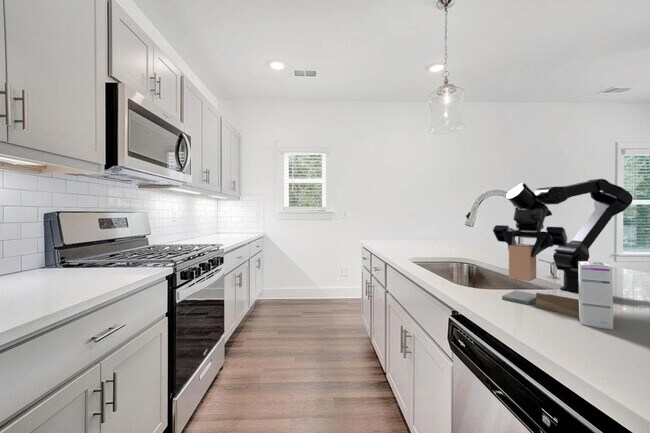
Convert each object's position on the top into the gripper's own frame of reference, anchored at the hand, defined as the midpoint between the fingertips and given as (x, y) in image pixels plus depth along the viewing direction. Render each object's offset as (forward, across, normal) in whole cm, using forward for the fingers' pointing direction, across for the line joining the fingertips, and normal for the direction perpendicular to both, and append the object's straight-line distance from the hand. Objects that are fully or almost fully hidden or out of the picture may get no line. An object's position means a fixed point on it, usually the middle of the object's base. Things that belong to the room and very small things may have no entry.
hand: (520, 255), depth 89 cm
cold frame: (+9, +10, +10) cm, 17 cm away
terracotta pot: (+4, 0, +6) cm, 7 cm away
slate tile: (+9, 0, +11) cm, 14 cm away
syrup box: (+15, +18, +4) cm, 24 cm away
